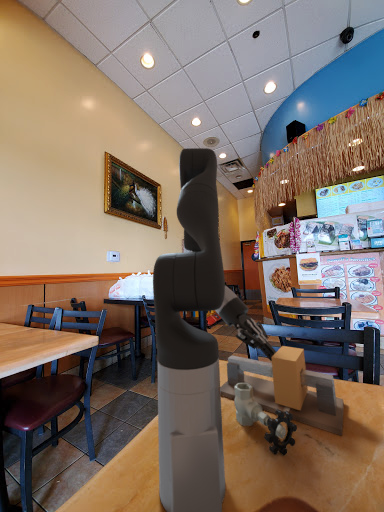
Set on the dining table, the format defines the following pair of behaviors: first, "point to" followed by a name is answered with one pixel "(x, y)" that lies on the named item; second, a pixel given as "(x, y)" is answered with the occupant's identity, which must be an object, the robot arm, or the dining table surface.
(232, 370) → the rectangular bar
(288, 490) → the dining table surface
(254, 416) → the valve
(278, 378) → the collar
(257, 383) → the board
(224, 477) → the robot arm
